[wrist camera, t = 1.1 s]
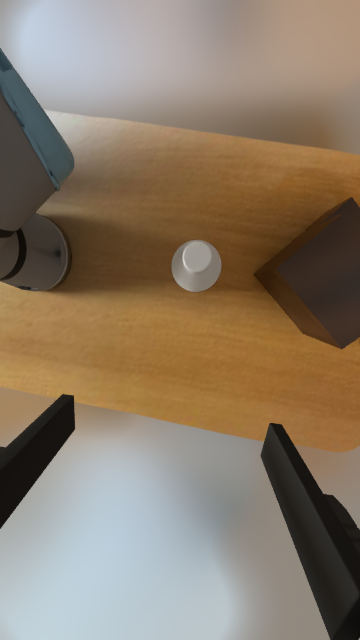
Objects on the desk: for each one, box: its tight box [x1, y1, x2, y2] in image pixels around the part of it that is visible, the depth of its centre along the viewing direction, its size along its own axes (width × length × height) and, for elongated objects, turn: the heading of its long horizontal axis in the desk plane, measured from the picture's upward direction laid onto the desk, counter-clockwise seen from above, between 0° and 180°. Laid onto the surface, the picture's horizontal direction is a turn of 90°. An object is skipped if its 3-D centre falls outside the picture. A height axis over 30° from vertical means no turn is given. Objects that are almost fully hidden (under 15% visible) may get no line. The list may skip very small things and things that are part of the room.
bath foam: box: [171, 240, 221, 292], centre depth 27 cm, size 7×7×20 cm
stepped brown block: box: [254, 197, 360, 349], centre depth 31 cm, size 16×17×10 cm
